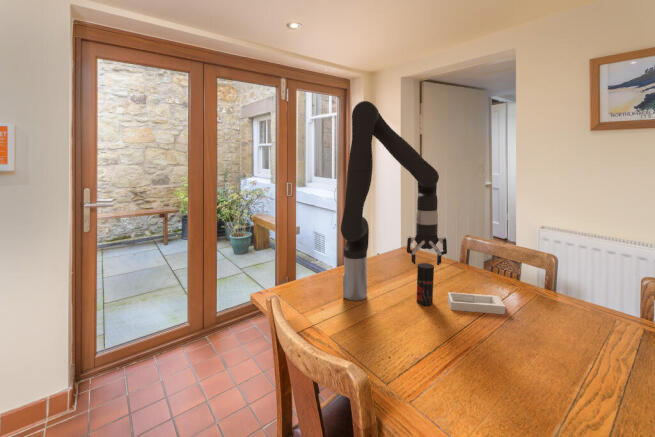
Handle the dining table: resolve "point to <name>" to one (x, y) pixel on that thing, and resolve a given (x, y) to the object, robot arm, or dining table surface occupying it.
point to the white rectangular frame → (476, 303)
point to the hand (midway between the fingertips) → (426, 264)
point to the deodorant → (425, 284)
